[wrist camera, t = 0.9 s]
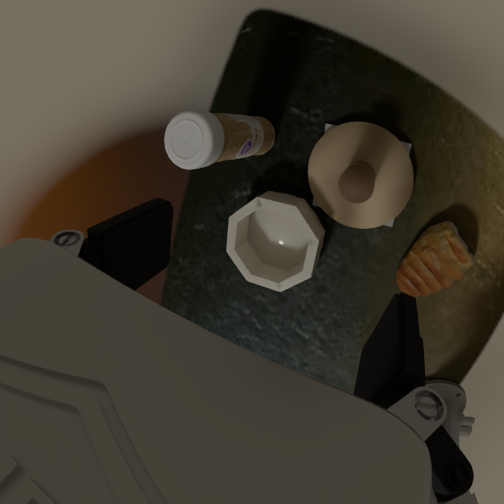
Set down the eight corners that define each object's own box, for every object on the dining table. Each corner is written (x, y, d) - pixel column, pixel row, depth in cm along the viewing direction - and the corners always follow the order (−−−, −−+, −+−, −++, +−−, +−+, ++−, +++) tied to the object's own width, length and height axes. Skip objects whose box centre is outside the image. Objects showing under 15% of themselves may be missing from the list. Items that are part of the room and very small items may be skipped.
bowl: (331, 204, 31) (324, 213, 28) (313, 283, 35) (305, 299, 32) (247, 184, 34) (231, 191, 31) (239, 260, 39) (224, 273, 35)
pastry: (415, 303, 31) (417, 320, 28) (382, 263, 31) (381, 277, 28) (475, 255, 26) (484, 269, 23) (443, 209, 26) (450, 219, 23)
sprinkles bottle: (269, 160, 32) (202, 179, 21) (234, 146, 33) (156, 159, 22) (282, 122, 30) (219, 118, 18) (245, 110, 31) (169, 104, 19)
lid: (422, 137, 24) (434, 138, 18) (398, 238, 29) (401, 264, 23) (317, 112, 27) (301, 107, 22) (302, 211, 32) (282, 230, 27)
